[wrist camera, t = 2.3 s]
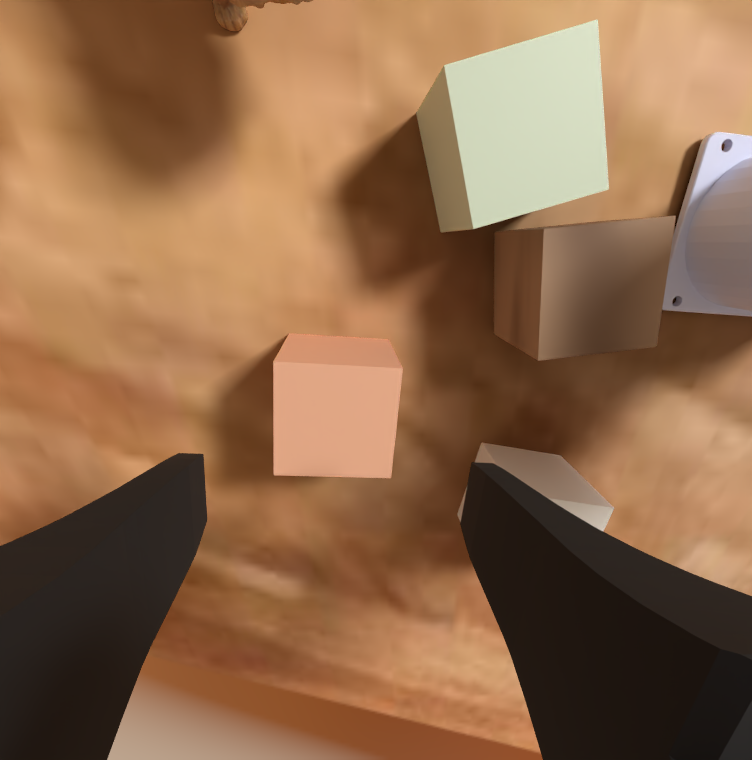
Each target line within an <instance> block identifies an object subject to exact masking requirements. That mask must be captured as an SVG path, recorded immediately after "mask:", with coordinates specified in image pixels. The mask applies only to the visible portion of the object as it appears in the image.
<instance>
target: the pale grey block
mask: <svg viewBox="0 0 752 760" xmlns="http://www.w3.org/2000/svg"><path fill="white" fill-rule="evenodd" d="M475 462H477V463H494V464H496V465H497V466H499V467H501V468H503V469H504V470H506V471H507V472H509V473H511V474H512V475H514V476H515V477H517V478H518V479H520V480H521V481H523V482H524V483H526V484H527V485H529V486H530V487H532V488H533V489H535V490H536V491H538V492H539V493H541V494H542V495H544V496H545V497H547V498H548V499H550V500H551V501H553V502H554V503H556V504H557V505H559V506H561V507H562V508H564V509H565V510H567V511H569V512H570V513H572V514H574V515H575V516H577V517H579V518H580V519H582V520H584V521H585V522H587V523H589V524H590V525H592V526H594V527H596V528H597V529H599V530H601V531H604V529H605V527H606V524H607V522H608V520H609V518H610V516H611V514H612V512H613V510H614V507H613V506H612V505H611V504H610V503H609V502H608V501H607V500H606V499H605V498H604V497H603V496H602V495H601V494H600V493H599V492H598V491H596V490H595V489H594V488H593V487H592V486H591V485H590V484H589V483H588V482H587V481H586V480H585V479H584V478H583V477H582V476H581V475H580V474H579V473H578V472H577V471H576V470H575V469H574V468H573V467H572V466H571V465H570V464H569V463H568V462H567V461H566V460H565V459H564V458H563V457H562V456H561V455H555V454H549V453H543V452H537V451H531V450H525V449H519V448H513V447H507V446H501V445H495V444H489V443H482V442H481V445H480V448H479V451H478V454H477V457H476V460H475ZM466 490H467V487H466ZM466 490H465V493H464V496H463V499H462V502H461V505H460V508H459V511H458V514H457V515H458V518H459V520H460V522H461V517H462V512H463V506H464V501H465V495H466Z"/></svg>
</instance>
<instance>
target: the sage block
mask: <svg viewBox="0 0 752 760" xmlns="http://www.w3.org/2000/svg"><path fill="white" fill-rule="evenodd" d="M416 115H417V120H418V125H419V130H420V135H421V139H422V144H423V149H424V154H425V159H426V164H427V169H428V173H429V178H430V183H431V188H432V193H433V198H434V203H435V207H436V212H437V217H438V222H439V227H440V232H450V231H460V230H470V229H476V228H479V227H482V226H486V225H489V224H493V223H496V222H499V221H503V220H506V219H510V218H513V217H516V216H520V215H523V214H527V213H530V212H533V211H537V210H540V209H544V208H547V207H550V206H554V205H557V204H561V203H564V202H567V201H571V200H574V199H578V198H581V197H584V196H588V195H591V194H595V193H598V192H601V191H605V190H608V189H609V184H608V168H607V153H606V138H605V123H604V108H603V92H602V77H601V62H600V47H599V32H598V20H594V21H591V22H587V23H584V24H581V25H577V26H574V27H571V28H567V29H564V30H561V31H557V32H554V33H551V34H547V35H544V36H541V37H537V38H534V39H531V40H527V41H524V42H521V43H517V44H514V45H510V46H507V47H504V48H500V49H497V50H494V51H490V52H487V53H484V54H480V55H477V56H474V57H470V58H467V59H464V60H460V61H457V62H454V63H450V64H447V65H444V66H443V68H442V70H441V72H440V73H439V75H438V77H437V78H436V80H435V82H434V83H433V85H432V87H431V89H430V90H429V92H428V94H427V95H426V97H425V99H424V100H423V102H422V104H421V106H420V107H419V109H418V111H417V112H416Z"/></svg>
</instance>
